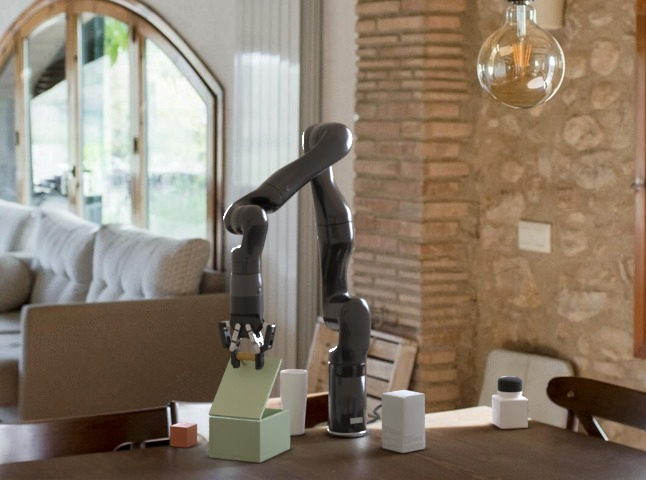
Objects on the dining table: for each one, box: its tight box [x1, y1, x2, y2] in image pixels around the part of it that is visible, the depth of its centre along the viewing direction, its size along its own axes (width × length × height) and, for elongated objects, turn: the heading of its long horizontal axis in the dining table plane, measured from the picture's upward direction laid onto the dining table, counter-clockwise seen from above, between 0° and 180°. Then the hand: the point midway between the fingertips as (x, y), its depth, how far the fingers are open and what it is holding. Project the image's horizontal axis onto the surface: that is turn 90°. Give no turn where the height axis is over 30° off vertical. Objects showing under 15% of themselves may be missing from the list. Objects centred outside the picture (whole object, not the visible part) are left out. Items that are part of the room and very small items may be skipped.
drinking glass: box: [279, 368, 309, 437], centre depth 310 cm, size 7×7×15 cm
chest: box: [208, 407, 291, 464], centre depth 289 cm, size 15×13×9 cm
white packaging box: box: [381, 389, 426, 454], centre depth 294 cm, size 7×7×13 cm
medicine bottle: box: [491, 375, 529, 430], centre depth 319 cm, size 7×7×12 cm
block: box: [169, 422, 198, 449], centre depth 298 cm, size 5×5×5 cm
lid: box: [208, 351, 283, 420], centre depth 286 cm, size 16×13×5 cm
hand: (247, 368), depth 289 cm, fingers closed on lid, 5 cm apart
